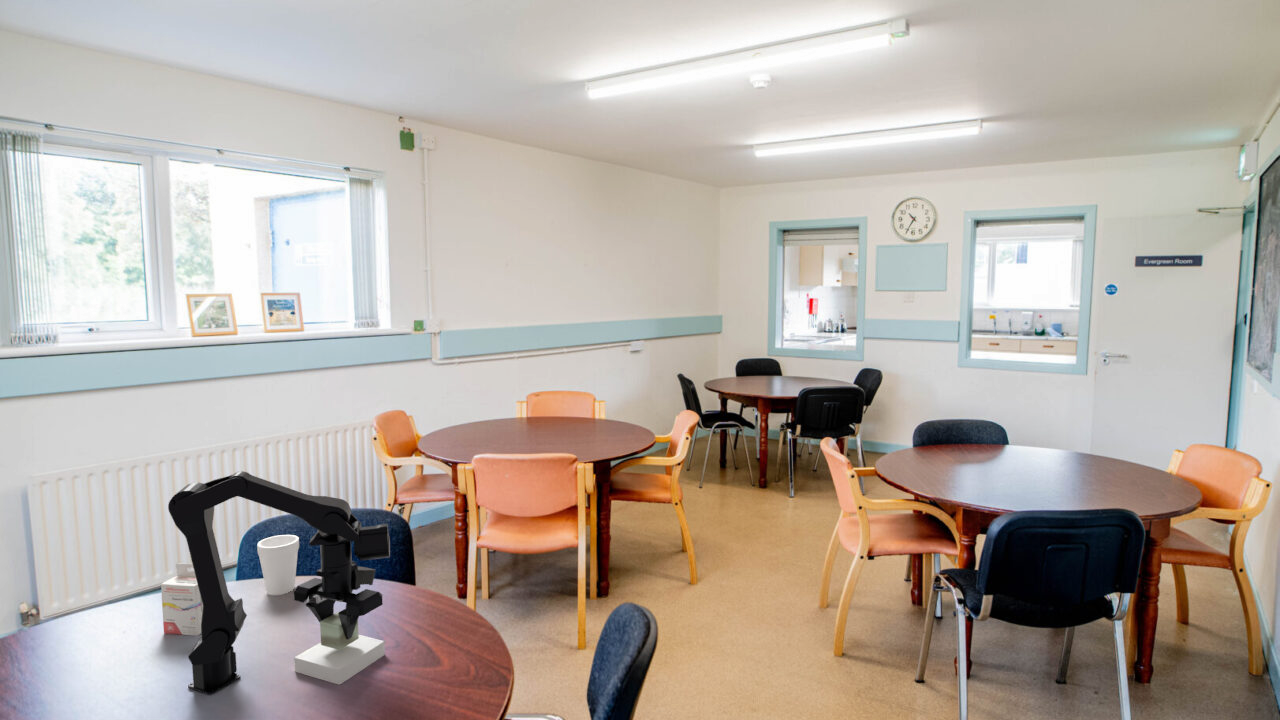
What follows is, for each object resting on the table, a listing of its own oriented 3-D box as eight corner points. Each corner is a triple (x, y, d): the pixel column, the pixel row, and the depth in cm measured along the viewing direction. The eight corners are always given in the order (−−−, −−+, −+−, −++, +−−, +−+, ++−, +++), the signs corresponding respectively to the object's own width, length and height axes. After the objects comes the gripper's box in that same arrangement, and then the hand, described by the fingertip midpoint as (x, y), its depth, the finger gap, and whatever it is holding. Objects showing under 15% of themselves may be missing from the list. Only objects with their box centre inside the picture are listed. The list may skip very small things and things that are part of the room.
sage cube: (339, 650, 135) (338, 626, 134) (321, 645, 137) (320, 621, 136) (358, 638, 139) (357, 615, 139) (340, 633, 141) (339, 610, 141)
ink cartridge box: (162, 634, 150) (158, 571, 149) (179, 623, 155) (175, 562, 154) (197, 636, 149) (194, 572, 148) (214, 625, 154) (210, 563, 153)
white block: (339, 684, 130) (338, 670, 130) (295, 671, 135) (294, 657, 135) (384, 654, 141) (384, 641, 141) (342, 643, 146) (341, 630, 146)
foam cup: (288, 598, 168) (286, 548, 167) (252, 598, 168) (249, 547, 167) (308, 582, 177) (305, 534, 176) (273, 582, 178) (271, 534, 176)
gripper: (400, 555, 140) (403, 627, 142) (334, 542, 147) (337, 611, 149) (359, 575, 130) (362, 652, 131) (290, 561, 137) (293, 634, 139)
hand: (339, 636), depth 138 cm, fingers closed on sage cube, 5 cm apart
